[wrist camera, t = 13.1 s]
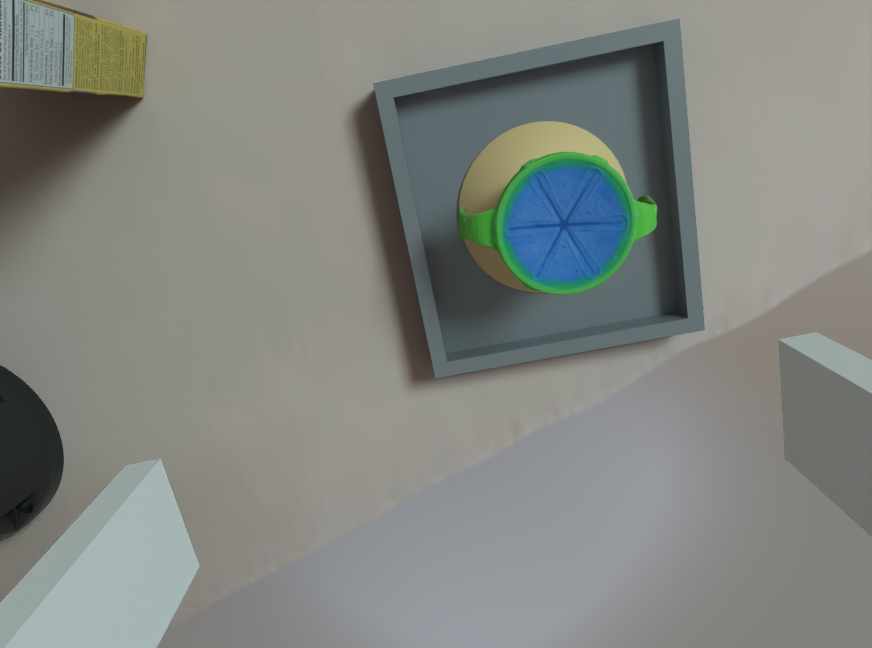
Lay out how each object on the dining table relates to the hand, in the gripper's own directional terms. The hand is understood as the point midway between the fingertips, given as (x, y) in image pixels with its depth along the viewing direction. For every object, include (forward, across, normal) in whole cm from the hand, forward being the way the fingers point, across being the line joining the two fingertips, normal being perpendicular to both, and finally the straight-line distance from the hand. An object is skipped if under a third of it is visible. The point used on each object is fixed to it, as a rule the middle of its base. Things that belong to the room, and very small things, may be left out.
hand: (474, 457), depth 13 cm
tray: (+30, +7, 0) cm, 31 cm away
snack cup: (+30, +7, 0) cm, 30 cm away
